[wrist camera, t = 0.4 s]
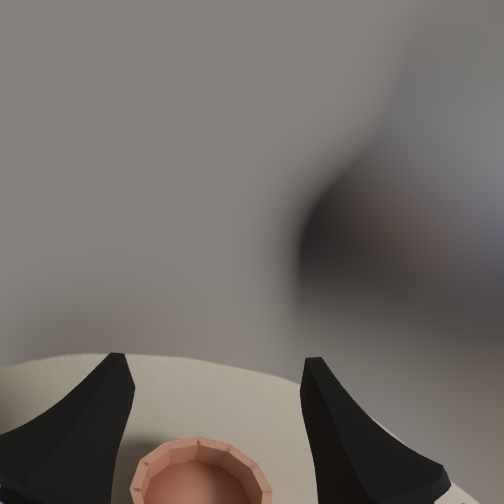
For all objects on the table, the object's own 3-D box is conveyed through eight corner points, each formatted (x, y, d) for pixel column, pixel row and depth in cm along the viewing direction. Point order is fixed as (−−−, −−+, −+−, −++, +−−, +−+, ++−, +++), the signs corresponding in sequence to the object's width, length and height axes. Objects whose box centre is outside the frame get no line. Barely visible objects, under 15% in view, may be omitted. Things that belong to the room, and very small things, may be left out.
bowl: (248, 563, 15) (264, 562, 13) (123, 534, 15) (115, 528, 13) (261, 470, 25) (276, 452, 23) (154, 444, 25) (153, 422, 23)
